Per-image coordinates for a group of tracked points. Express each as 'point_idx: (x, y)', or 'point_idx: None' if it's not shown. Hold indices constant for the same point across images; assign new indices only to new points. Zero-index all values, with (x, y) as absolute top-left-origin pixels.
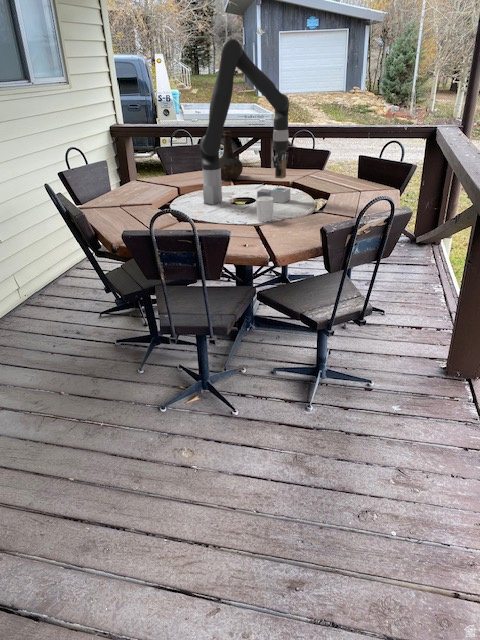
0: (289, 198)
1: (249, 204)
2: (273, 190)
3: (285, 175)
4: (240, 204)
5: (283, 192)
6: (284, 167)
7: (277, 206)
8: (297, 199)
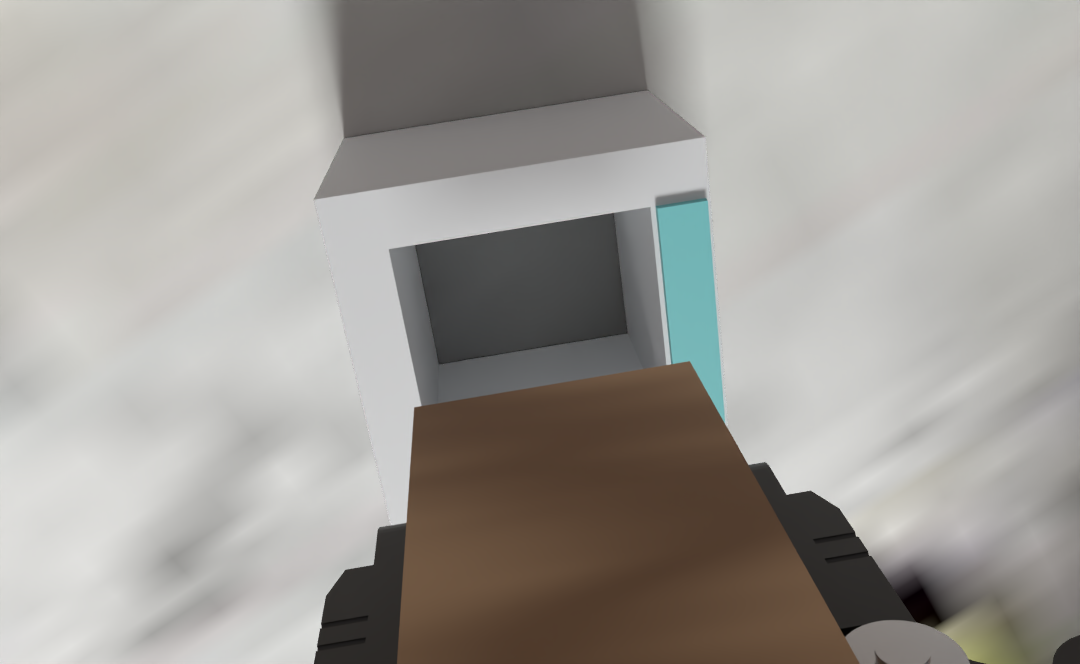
0: (380, 140)
1: (959, 550)
2: (721, 413)
3: (448, 429)
4: (1010, 649)
5: (704, 147)
6: (584, 607)
7: (886, 79)
8: (213, 26)
